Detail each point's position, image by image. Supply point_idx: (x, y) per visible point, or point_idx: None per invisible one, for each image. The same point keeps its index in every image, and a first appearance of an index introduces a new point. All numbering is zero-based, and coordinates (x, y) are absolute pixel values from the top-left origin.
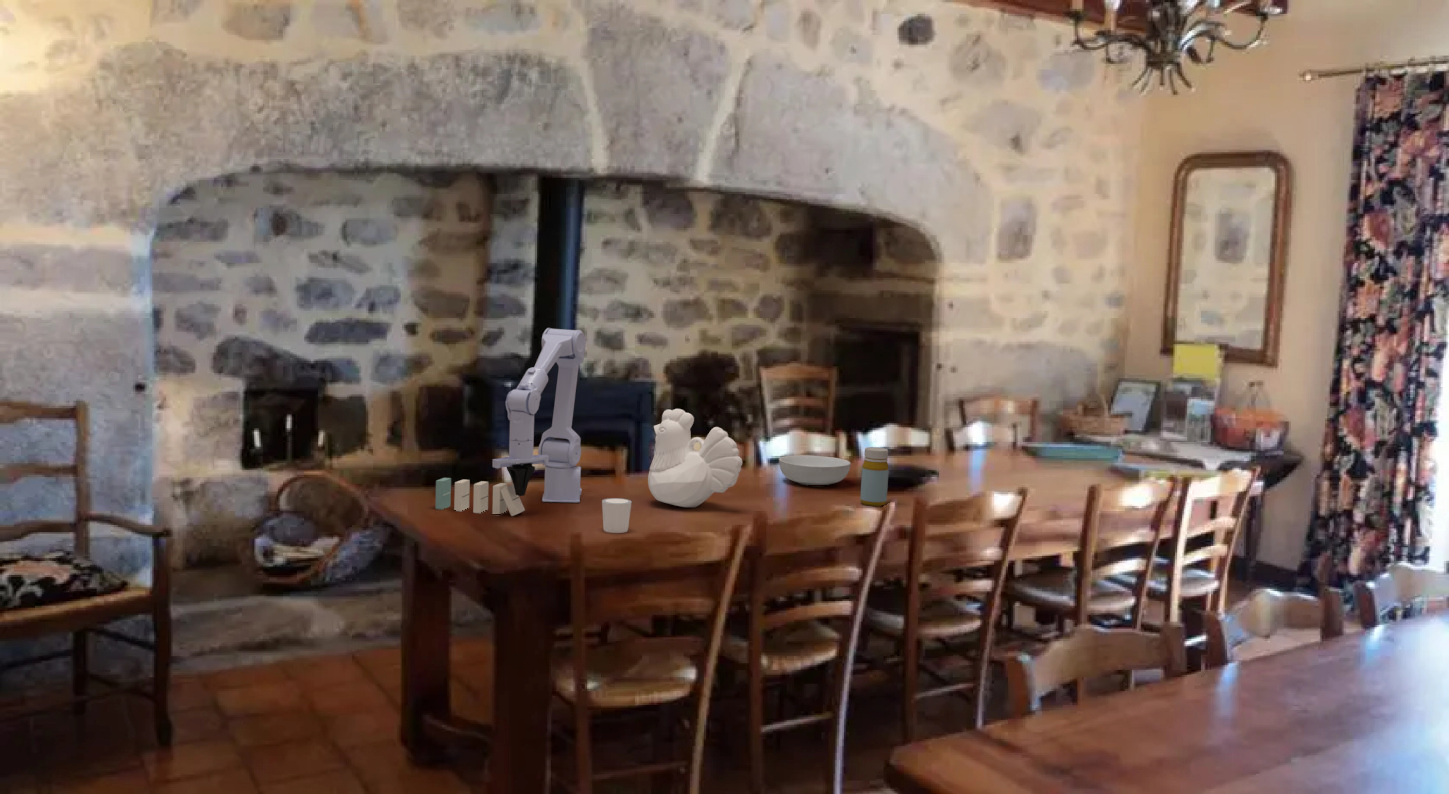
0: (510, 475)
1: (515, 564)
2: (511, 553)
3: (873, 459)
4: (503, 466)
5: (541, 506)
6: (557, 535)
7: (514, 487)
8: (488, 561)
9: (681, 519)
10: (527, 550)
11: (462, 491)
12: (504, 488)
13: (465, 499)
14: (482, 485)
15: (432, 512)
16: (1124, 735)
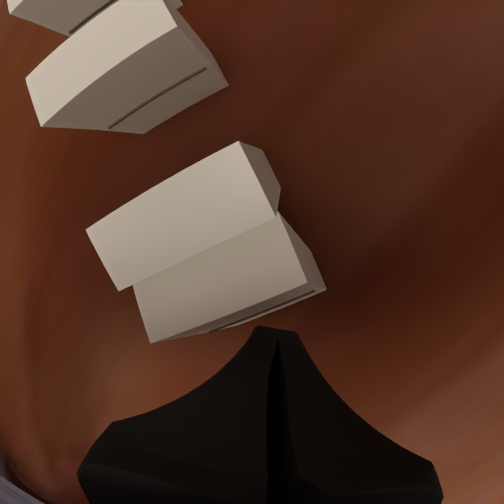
0: (180, 401)
1: (43, 492)
2: (49, 477)
3: None
4: (2, 491)
5: (491, 214)
6: None
7: (242, 349)
8: (14, 464)
9: (491, 500)
10: (77, 490)
11: (55, 19)
12: (147, 321)
13: None
14: (72, 104)
15: (32, 29)
16: None
